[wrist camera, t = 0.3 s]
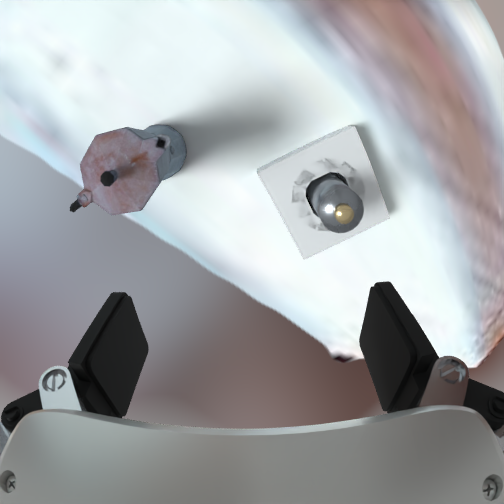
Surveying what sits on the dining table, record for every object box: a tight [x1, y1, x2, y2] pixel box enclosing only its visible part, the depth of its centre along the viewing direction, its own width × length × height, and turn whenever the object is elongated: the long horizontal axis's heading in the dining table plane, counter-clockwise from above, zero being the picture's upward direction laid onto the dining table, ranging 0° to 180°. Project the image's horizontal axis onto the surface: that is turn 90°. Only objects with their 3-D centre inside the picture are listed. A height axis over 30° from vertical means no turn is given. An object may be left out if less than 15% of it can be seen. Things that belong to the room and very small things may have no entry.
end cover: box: [307, 173, 364, 233], centre depth 39 cm, size 6×6×11 cm
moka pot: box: [70, 125, 187, 215], centre depth 33 cm, size 10×15×20 cm, turn 121°
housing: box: [257, 125, 390, 260], centre depth 43 cm, size 16×16×3 cm
